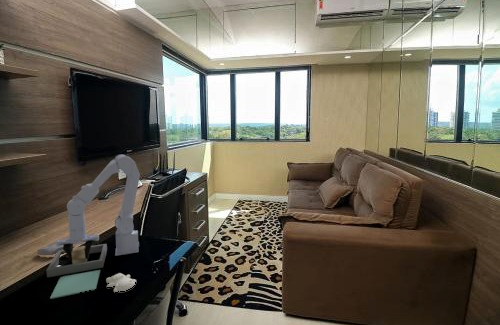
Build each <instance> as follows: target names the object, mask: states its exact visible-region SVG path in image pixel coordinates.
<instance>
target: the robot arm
mask: <svg viewBox="0 0 500 325" xmlns="http://www.w3.org/2000/svg"><path fill="white" fill-rule="evenodd" d="M114 157H115V158H114V159H111V161H110V162H109V163H108V164H107V165H106V166H105V167H104V169H103V170H102V171H101V172H100V173H99V175H97V176H96V177H95V179H94V180H93V181H92V183H87V184H85V185H82V186H81V187H80V191H79V192H77V194H75V195H73V196H72V197H71V198H72V199H70V200H69V201H68V202H67V204H66V209H67V212H68V214H67V217H68V218H67V221H68V223H67V224H68V234H69V237H68V238H63V239H57V241H55V242H56V243H57V246H60V245H63V250H64V251H65V252H66V253H67V254H68V256H69V257H68V258H69V261H70V263H71V262H72V253H71V252H72V250H73V244H75V245H76V244H80V243H84V246H85V249H86V259H87V260H88V259H89V257H90V254H89V252H90V248H91V246H93V243H94V241H95V242H98V241H99V240H100V235H99V234H87V228H86V227H87V226H86V217H85V211H86V206H88V205H89V204H90V203H91V202H92V201H93V200H94V198H95V197H96V196H97V195H98V194H99V192H100V188H101V186H102V185H103V184H104V183H105V182H106V181H107V180H109V178H110V177H111V176H112V175H114V174H118V173H121V171H122V172H123V173H124V174H125V175H126V177H127V178H126V182H125V187H124V191H123V197H122V203H121V207H120V210H119V212H118V215H117V217H116V218H115V220H114V226H115V228H117V229H116V231H115V246H116V248H115V252H114V253H115V254H114V256H121V255H129V254H134V253H139V247H140V241H139V230H135V228H134V227H135V226H134V222H133V221H134V215H133V211H134V208H135V202H136V197H137V191H138V188H139V187H138V186H139V183H140V182H139V181H140V177H141V173H140V170H139V168H138V166H137V162H136V161H134V159H133V158H132V157H130V156H127V155H126V154H117V155H116V156H114ZM120 170H121V171H120Z"/></svg>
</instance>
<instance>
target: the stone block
mask: <svg viewBox="0 0 500 325" xmlns="http://www.w3.org/2000/svg"><path fill="white" fill-rule="evenodd" d="M56 242H57V241H55V242H52V243H50V244H48V245H47V246H44V247H43V248H39V249H37V253H36V254H37V255H38V254H39V255H53V254H56V253H57V252H58V251H61V250H63V245H60V246H57V243H56Z"/></svg>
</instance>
